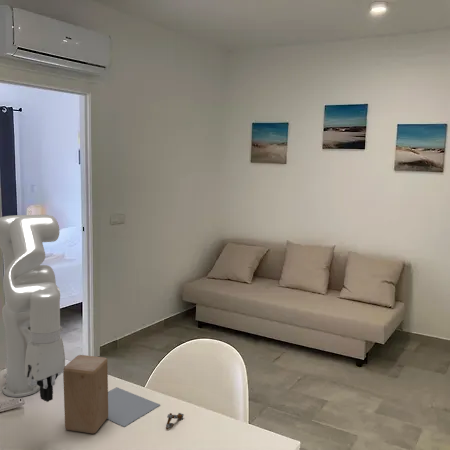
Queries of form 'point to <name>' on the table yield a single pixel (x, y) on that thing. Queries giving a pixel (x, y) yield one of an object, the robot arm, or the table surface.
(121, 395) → the mat
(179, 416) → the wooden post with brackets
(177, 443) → the table surface
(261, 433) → the table surface
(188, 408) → the table surface
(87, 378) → the wooden block
